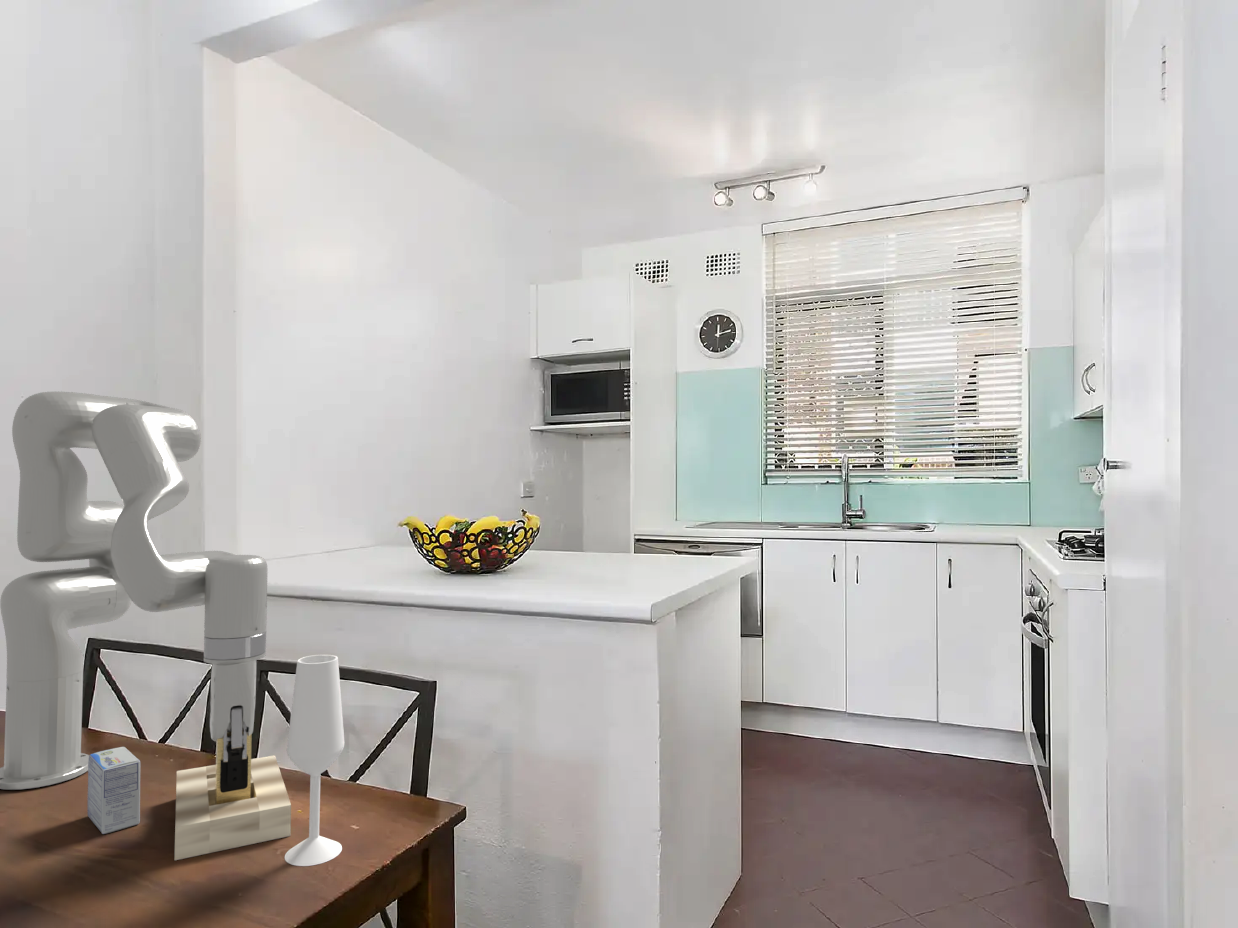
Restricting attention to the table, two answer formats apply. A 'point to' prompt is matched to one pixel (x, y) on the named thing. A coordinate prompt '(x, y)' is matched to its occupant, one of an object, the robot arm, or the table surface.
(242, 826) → the socket block
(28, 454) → the robot arm
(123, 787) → the medicine box
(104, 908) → the table surface
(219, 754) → the brass peg
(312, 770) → the champagne flute
